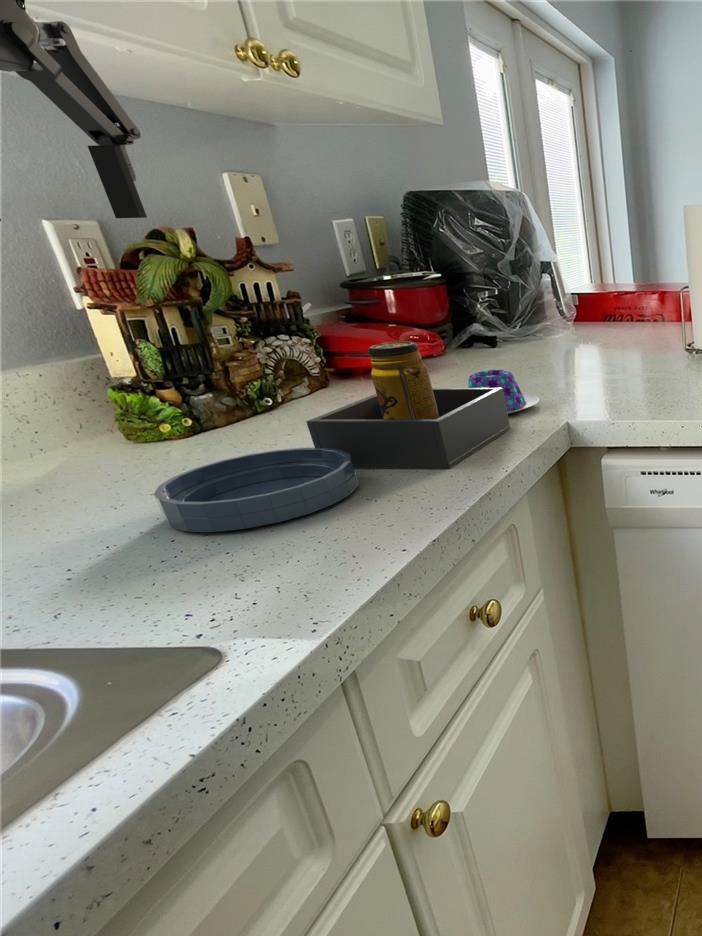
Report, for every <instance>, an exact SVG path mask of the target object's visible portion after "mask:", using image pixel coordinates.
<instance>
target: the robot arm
mask: <svg viewBox="0 0 702 936" xmlns="http://www.w3.org/2000/svg"><path fill="white" fill-rule="evenodd" d="M25 2H26V0H0V71H1V72H7V73H9V72H10V73H11V72H12V73H13V72H15V74H17V75H18V76H20V78H23V79H24V80H26V81H29V82H30V83H31V84H33V86H35V87H36V88H37V89H38V90H39V91H40V92H41V93H43V95H45V97H47V98H48V99H49V100H50V102H52V103H53V104H54V105H55V107H57V108H58V109H59V110H60V111H61V112H62V113H63V114H65V115H66V116H67V118H68V119H69V120H71V121H72V122H73V123H74V124H75V125H76V126H77V127H78V128H80V130H81V131H83V133H85V135H87V136H88V137H89V138H90V139H91V140H92V141H93V142H94V143H95V144H96V145H87V148H88V151H89V154H90V156H91V158H92V161H93V164H94V166H95V169H96V171H97V174H98V177H99V179H100V182H101V184H102V187H103V189H104V192H105V194H106V197H107V199H108V202H109V205H110V207H111V209H112V212H113V215H114V218H115V219H144V218H145V219H147V218H148V216H147V214H146V211H145V208H144V205H143V203H142V200H141V198H140V195H139V192H138V189H137V187H136V184H135V182H137V175H136V173H135V170H134V167H133V165H132V162H131V159H130V157H129V154H128V151H127V149H126V146H130V145H131V146H133V144H135V140H138V139H141V137H142V135H141V134H142V133H141V131H140V129H139V128H138V126H137V125H136V124H135V122H134V121H133V120H132V118H131V117H130V116H129V114H128V113H127V112H126V110H125V109H124V107H122V105H121V104H120V102H119V101H118V100H117V98H116V97H115V96H114V93H112V91H111V90H110V89H109V87H108V86H107V85H106V83H105V82H104V80H103V79H102V78H101V76H100V75H99V74H98V72H97V71H96V70H95V69H94V67H93V66H92V64H91V63H90V61H89V60H88V59H87V58H86V56H85V55H84V54H83V51H82V50H81V48H80V46H79V44H78V41H77V40H76V38H75V35H74V33H73V31H72V29H71V27H70V26H69V25H68V24H67V23H66V22H64V21H61V20H58V21H57V20H56V21H55V20H54V21H35V20H34V19H33V17H32V16H31V14H30V13H29V12H28V10H27V8H26V4H25ZM0 222H2V219H1V218H0Z"/></svg>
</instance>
